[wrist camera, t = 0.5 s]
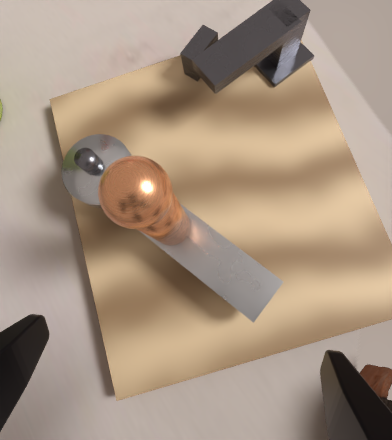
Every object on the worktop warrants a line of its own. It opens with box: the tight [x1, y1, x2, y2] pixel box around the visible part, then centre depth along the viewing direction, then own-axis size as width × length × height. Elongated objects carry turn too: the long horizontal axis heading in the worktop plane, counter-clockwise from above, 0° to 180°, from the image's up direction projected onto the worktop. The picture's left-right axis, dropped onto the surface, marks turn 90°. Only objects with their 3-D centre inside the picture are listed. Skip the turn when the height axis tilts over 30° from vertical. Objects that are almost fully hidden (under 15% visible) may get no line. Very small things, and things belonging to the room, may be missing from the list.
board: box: [50, 40, 392, 401], centre depth 24 cm, size 25×22×1 cm
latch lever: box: [62, 134, 283, 323], centre depth 17 cm, size 18×5×12 cm, turn 52°
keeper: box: [180, 0, 314, 94], centre depth 23 cm, size 9×7×5 cm
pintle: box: [74, 148, 104, 175], centre depth 22 cm, size 4×4×5 cm
